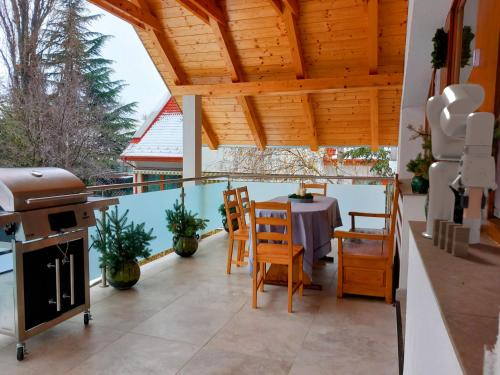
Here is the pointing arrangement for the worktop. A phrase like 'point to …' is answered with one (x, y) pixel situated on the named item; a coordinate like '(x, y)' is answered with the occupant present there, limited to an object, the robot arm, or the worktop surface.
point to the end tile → (474, 203)
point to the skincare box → (473, 229)
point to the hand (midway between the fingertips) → (472, 207)
